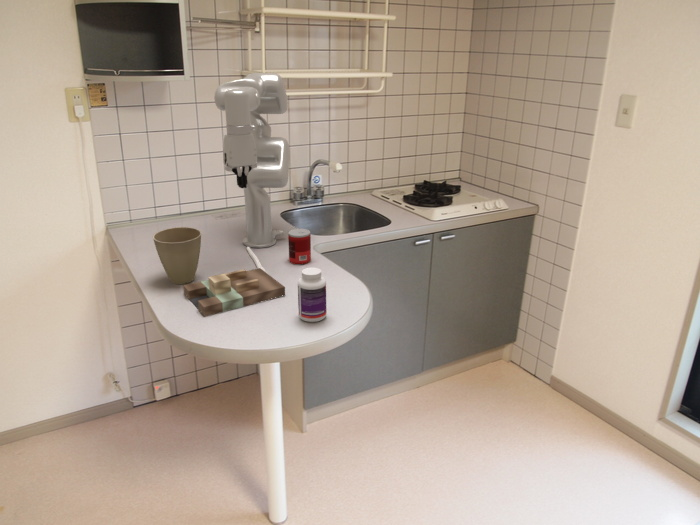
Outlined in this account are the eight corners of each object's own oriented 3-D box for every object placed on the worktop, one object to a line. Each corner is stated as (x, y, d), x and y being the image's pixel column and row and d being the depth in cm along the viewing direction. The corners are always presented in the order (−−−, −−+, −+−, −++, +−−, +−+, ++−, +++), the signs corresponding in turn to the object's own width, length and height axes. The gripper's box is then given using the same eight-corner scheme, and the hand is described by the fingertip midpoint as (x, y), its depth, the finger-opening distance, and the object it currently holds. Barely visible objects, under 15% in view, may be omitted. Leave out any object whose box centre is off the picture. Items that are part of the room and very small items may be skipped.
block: (224, 285, 177) (223, 273, 176) (231, 291, 174) (230, 279, 172) (209, 289, 175) (208, 277, 173) (215, 294, 171) (214, 282, 169)
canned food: (314, 259, 207) (314, 230, 203) (303, 266, 200) (303, 237, 196) (296, 255, 210) (295, 227, 206) (285, 263, 203) (284, 233, 199)
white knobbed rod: (239, 250, 216) (239, 242, 215) (250, 248, 217) (250, 241, 216) (255, 277, 191) (255, 270, 190) (267, 276, 193) (267, 268, 192)
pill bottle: (331, 318, 164) (331, 272, 158) (307, 326, 160) (307, 279, 154) (316, 308, 170) (316, 263, 165) (293, 315, 166) (292, 269, 160)
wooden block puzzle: (260, 276, 192) (259, 261, 190) (285, 295, 178) (284, 279, 176) (184, 294, 178) (182, 277, 176) (204, 316, 164) (203, 299, 162)
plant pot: (157, 274, 192) (151, 229, 186) (202, 268, 197) (198, 225, 191) (160, 292, 179) (154, 244, 173) (208, 285, 184) (204, 239, 178)
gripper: (255, 126, 186) (258, 181, 193) (211, 130, 179) (216, 187, 186) (265, 130, 181) (268, 186, 187) (220, 134, 173) (225, 192, 180)
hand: (242, 187), depth 186 cm, fingers closed
